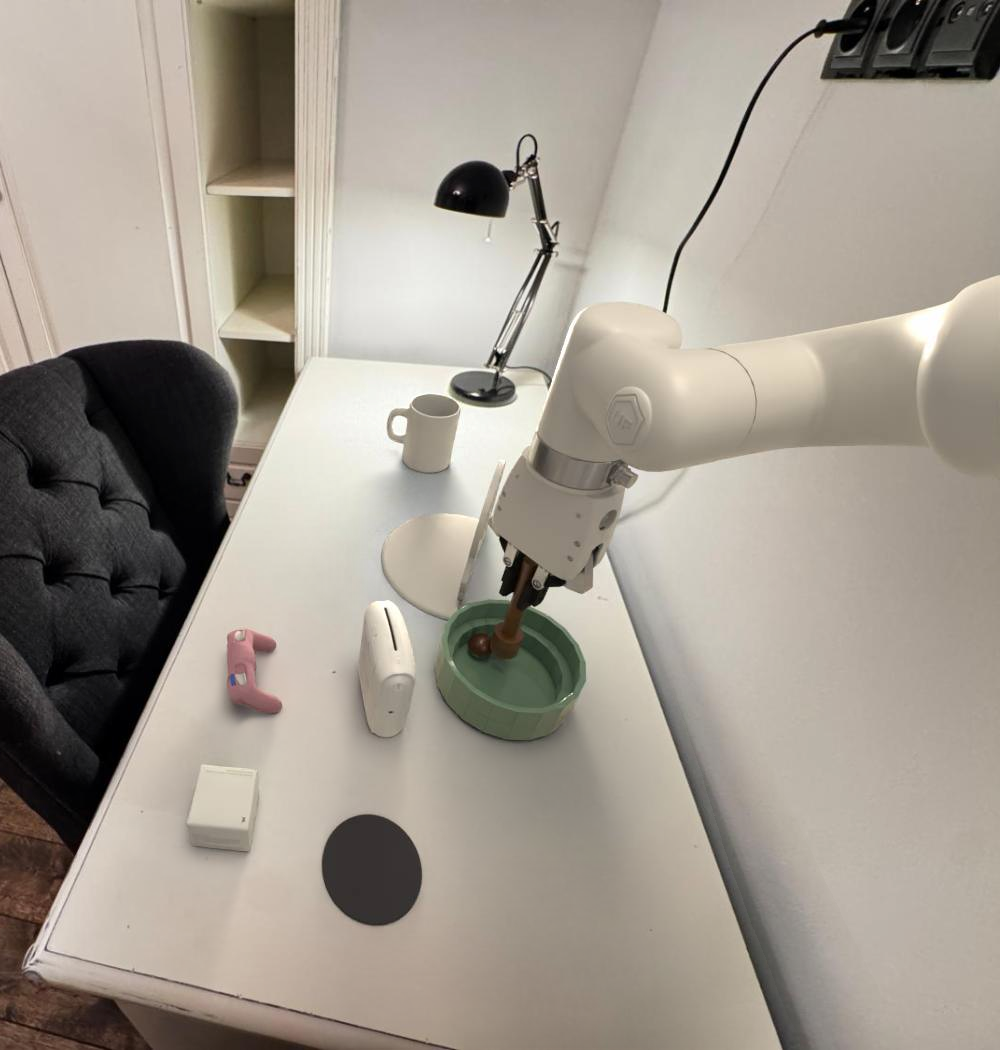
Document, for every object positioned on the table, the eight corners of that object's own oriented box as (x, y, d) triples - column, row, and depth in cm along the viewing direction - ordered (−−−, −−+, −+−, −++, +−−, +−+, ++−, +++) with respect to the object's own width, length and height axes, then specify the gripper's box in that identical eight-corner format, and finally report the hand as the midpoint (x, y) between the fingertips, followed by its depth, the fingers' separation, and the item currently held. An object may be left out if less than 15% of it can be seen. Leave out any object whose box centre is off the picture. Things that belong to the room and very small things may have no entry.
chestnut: (503, 649, 67) (490, 629, 67) (487, 666, 66) (473, 646, 66) (487, 645, 70) (474, 626, 70) (471, 661, 69) (458, 642, 69)
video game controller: (247, 654, 71) (217, 624, 67) (279, 641, 70) (251, 610, 66) (250, 726, 64) (217, 698, 59) (286, 713, 63) (255, 683, 58)
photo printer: (407, 738, 61) (424, 669, 53) (368, 740, 61) (379, 672, 53) (389, 659, 69) (402, 589, 61) (354, 661, 69) (362, 591, 61)
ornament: (455, 623, 73) (483, 524, 63) (359, 590, 78) (369, 492, 67) (488, 524, 89) (516, 430, 78) (406, 501, 93) (421, 409, 82)
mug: (453, 452, 104) (464, 397, 97) (446, 477, 98) (457, 421, 91) (388, 440, 107) (395, 386, 100) (378, 464, 101) (384, 409, 94)
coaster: (442, 882, 51) (443, 881, 50) (363, 950, 47) (363, 949, 47) (378, 797, 56) (378, 795, 56) (303, 851, 53) (303, 850, 52)
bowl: (596, 698, 65) (615, 667, 61) (506, 769, 59) (521, 739, 55) (494, 613, 75) (505, 581, 71) (407, 666, 68) (414, 635, 64)
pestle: (523, 651, 66) (555, 563, 57) (504, 664, 65) (534, 575, 56) (502, 633, 68) (530, 545, 59) (483, 645, 67) (508, 557, 58)
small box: (260, 791, 57) (258, 768, 54) (251, 853, 52) (248, 832, 49) (204, 786, 57) (199, 762, 54) (190, 847, 53) (183, 825, 50)
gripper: (688, 488, 46) (604, 631, 58) (531, 404, 55) (488, 542, 68) (632, 521, 42) (556, 665, 55) (477, 426, 52) (441, 566, 64)
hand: (519, 596), depth 61 cm, fingers closed on pestle
